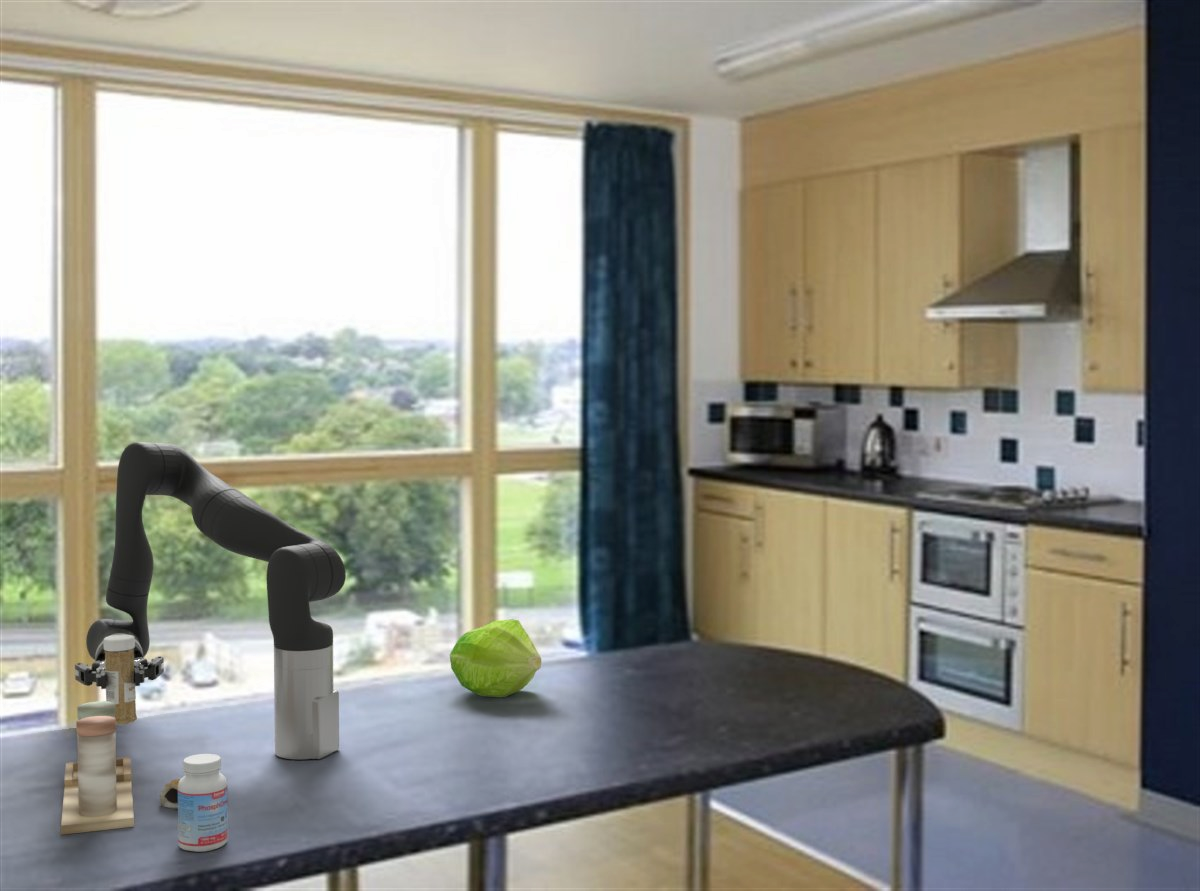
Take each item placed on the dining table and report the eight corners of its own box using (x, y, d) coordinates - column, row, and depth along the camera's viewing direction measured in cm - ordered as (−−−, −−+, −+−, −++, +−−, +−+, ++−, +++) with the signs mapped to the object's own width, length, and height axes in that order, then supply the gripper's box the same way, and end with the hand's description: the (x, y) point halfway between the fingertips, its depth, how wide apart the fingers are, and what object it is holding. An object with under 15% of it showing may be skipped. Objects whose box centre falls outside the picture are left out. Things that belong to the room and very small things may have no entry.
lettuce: (516, 713, 236) (494, 641, 235) (446, 709, 251) (425, 642, 249) (571, 679, 247) (551, 610, 245) (501, 677, 261) (481, 613, 259)
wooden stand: (66, 777, 198) (64, 687, 197) (130, 770, 201) (128, 682, 200) (61, 834, 174) (59, 732, 173) (133, 826, 177) (132, 726, 176)
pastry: (206, 788, 194) (206, 762, 193) (239, 796, 190) (239, 770, 190) (155, 806, 185) (154, 779, 185) (189, 815, 182) (189, 788, 182)
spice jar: (140, 722, 206) (137, 637, 205) (109, 727, 204) (107, 640, 203) (132, 716, 210) (130, 632, 209) (102, 720, 207) (100, 635, 207)
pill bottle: (205, 856, 166) (204, 768, 166) (168, 848, 169) (166, 762, 168) (237, 840, 172) (236, 755, 171) (201, 833, 174) (199, 749, 174)
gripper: (72, 639, 217) (69, 660, 201) (163, 633, 222) (168, 652, 206) (73, 685, 217) (71, 709, 201) (165, 677, 222) (170, 700, 206)
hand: (120, 680), depth 204 cm, fingers closed on spice jar, 4 cm apart
